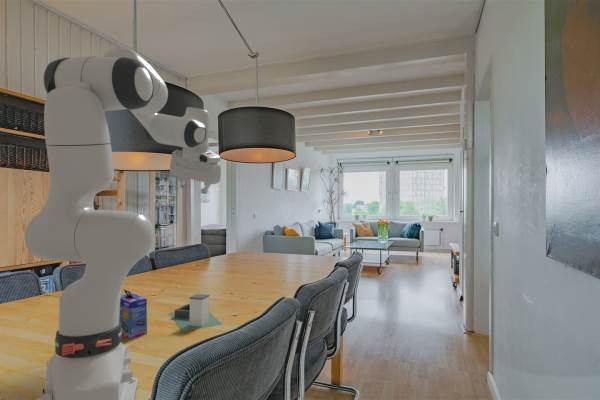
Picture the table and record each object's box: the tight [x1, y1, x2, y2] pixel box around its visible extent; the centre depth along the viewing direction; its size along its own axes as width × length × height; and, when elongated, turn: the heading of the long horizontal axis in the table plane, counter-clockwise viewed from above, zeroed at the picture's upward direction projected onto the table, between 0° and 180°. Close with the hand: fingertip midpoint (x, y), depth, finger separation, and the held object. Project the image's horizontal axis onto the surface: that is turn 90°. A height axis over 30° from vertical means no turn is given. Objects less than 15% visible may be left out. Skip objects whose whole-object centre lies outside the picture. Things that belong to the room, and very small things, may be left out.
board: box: [168, 303, 224, 332], centre depth 119 cm, size 21×13×4 cm, turn 31°
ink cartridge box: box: [119, 289, 148, 339], centre depth 106 cm, size 10×6×14 cm, turn 51°
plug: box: [189, 293, 210, 327], centre depth 114 cm, size 4×4×9 cm
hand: (193, 190), depth 128 cm, fingers open, 8 cm apart
